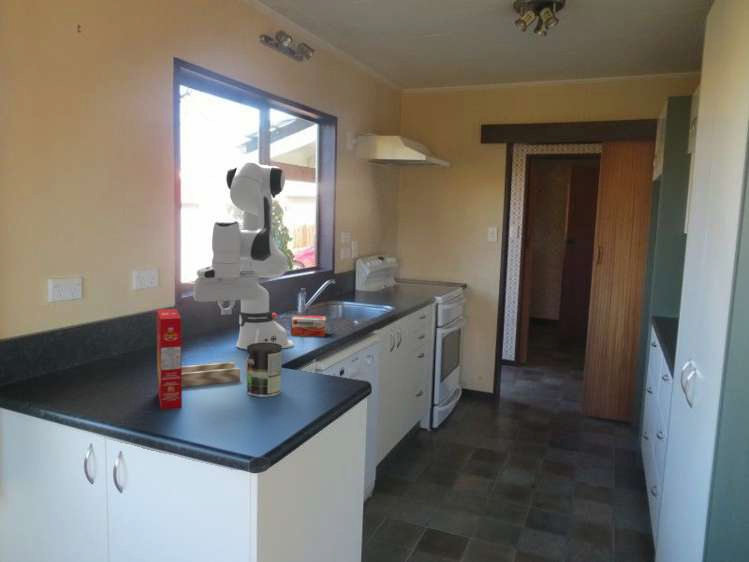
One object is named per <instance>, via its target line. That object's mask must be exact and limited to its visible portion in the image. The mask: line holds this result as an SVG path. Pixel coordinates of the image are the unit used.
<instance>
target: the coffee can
mask: <svg viewBox="0 0 749 562" xmlns="http://www.w3.org/2000/svg"><path fill="white" fill-rule="evenodd" d="M282 349H283V348H282V346H281V345H279V344H276V343H254V344H250V345H248V346H247V349H246V350H247V358H246V359H247V360H248V361H247V374H246V375H247V380H246V381H247V382H246V385H247V386H246V388H247V389H246V393H247V394H248V395H249V396H253V397H257V398H269V397H275V396H278V395H280V394H281V392H282V354H283V353H282Z"/></svg>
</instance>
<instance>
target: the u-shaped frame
mask: <svg viewBox="0 0 749 562" xmlns="http://www.w3.org/2000/svg"><path fill="white" fill-rule="evenodd" d="M233 382H241V368H240V367H235V362H234V361H227V362H219V363H206V364H205V363H204V364H196V365H182V388H184V387H194V386H196V387H197V386H205V385H212V384H213V385H214V384H222V383H233Z"/></svg>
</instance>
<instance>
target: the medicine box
mask: <svg viewBox="0 0 749 562" xmlns="http://www.w3.org/2000/svg"><path fill="white" fill-rule="evenodd" d="M327 323H328V322H327V316H326V315H298V314H297V315H296V314H294V316H292V317H291V323H290V335H291V336H293V337H294V336H295V337H296V336H297V337H320V338H321V337H322V338H325V336H326V334H327V327H328V326H327V325H328V324H327Z"/></svg>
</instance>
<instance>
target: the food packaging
mask: <svg viewBox="0 0 749 562" xmlns="http://www.w3.org/2000/svg"><path fill="white" fill-rule="evenodd" d="M156 362H157V363H156V364H157V365H156V366H157V372H156V373H157V376H156V377H157V396H158V402H159V405H160V410H161V411H165V410H175V409H182V405H183V393H182V392H183V391H182V388H183V387H182V366H183V365H182V317H181V316H180V314H179V312H178V310H177V308H168V309H167V308H166V309H156Z"/></svg>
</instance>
